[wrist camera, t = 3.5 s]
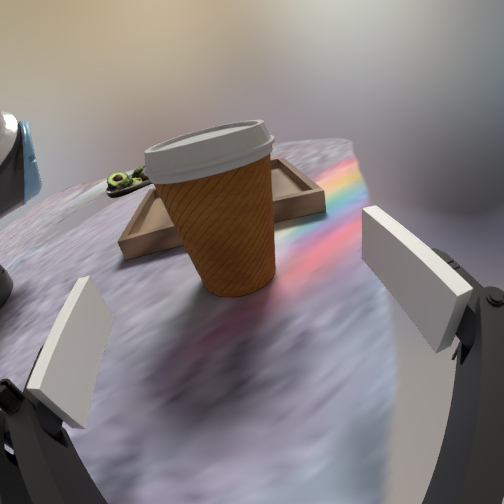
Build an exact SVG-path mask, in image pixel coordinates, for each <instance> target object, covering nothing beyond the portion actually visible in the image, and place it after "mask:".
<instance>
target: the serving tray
mask: <svg viewBox="0 0 504 504" xmlns="http://www.w3.org/2000/svg"><path fill="white" fill-rule="evenodd" d="M270 161H271V178H272V194H273V218H274V223H275V222H279V221H283V220H287V219H292V218H296V217H300V216H305V215H309V214H314V213H318V212H323V211H326V205H325V194H324V190H323V189H322V188H321V187H319V186H318V185H317V184H316V183H314V182H313V181H312V180H311V179H310V178H308V177H307V176H306V175H305V174H303V173H302V172H301V171H300V170H298V169H297V168H296V167H294V166H293V165H292V164H291V163H289V162H288V161H287V160H285V159H284V158H283V157H277V158H272V159H270ZM118 244H119V246H120V249H121V251H122V253H123V255H124V257H125V260H128V259H132V258H135V257H139V256H143V255H147V254H150V253H154V252H158V251H162V250H165V249H169V248H173V247H177V246H181V245H183V243H182V241H181V239H180V237H179V235H178V233H177V231H176V229H175V227H174V225H173V223H172V221H171V219H170V216H169V214H168V212H167V210H166V208H165V206H164V204H163V202H162V200H161V198H160V196H159V194H158V192H157V189H156V188H154V189H150V190H149V191H148V193H147V194H146V196H145V197H144V199H143V200H142V202H141V204H140V205H139V207H138V208H137V210H136V212H135V213H134V215H133V217H132V218H131V220H130V222H129V223H128V225H127V227H126V228H125V230H124V232H123V233H122V235H121V237H120V239H119V240H118Z"/></svg>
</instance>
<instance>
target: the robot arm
mask: <svg viewBox="0 0 504 504" xmlns="http://www.w3.org/2000/svg"><path fill="white" fill-rule="evenodd" d="M41 186H42V183H41V178H40V175H39V171H38V167H37V163H36V158H35V153H34V149H33V144H32V138H31V133H30V127H29V123H28V121H23V122H21V121H20V122H19V123H18V124H17V122H16V120H15V118H14V116H13V115H12V114H10V113H7V112H1V111H0V219H1V218H2V217H4V216H5V215H7V214H9V213H10V212H12V211H14V210H15V209H17V208H19V207H20V206H22V205H25V204H26V202H27V201H28V200H30V199H31V198H33V197H35V196H36V195H37V194H38V193H39V192H40V190H41ZM362 259H363V260H364V261H365V263H366V264H367V265H368V266H369V267H370V269H371V270H372V271H373V272H374V273H375V275H376V276H377V277H378V278H379V280H380V281H381V282H382V283H383V284H384V286H385V287H386V288H387V289H388V291H389V292H390V293H391V294H392V296H393V297H394V298H395V299H396V301H397V302H398V303H399V305H400V306H401V307H402V308H403V310H404V311H405V312H406V314H407V315H408V316H409V318H410V319H411V320H412V322H413V323H414V324H415V325H416V327H417V328H418V330H419V331H420V332H421V334H422V335H423V337H424V338H425V339H426V341H427V342H428V344H429V345H430V346H431V348H432V349H433V351H434V352H435V353H438V352H440V351H442V350H444V349H446V348H447V347H449V346H451V344H452V342H453V340H454V337H455V335H456V336H457V337H458V338H459V339H460V342H459V344H458V346H457V348H456V350H455V353H454V354H453V357H452V360H454V359H455V357H456V355H457V364H456V373H455V381H454V388H453V395H452V401H451V407H450V412H449V417H448V422H447V426H446V430H445V435H444V439H443V443H442V446H441V450H440V454H439V457H438V460H437V464H436V467H435V470H434V473H433V476H432V479H431V482H430V485H429V487H428V490H427V493H426V495H425V498H424V500H423V502H422V504H502V500H503V497H504V292H503V291H502V290H500V289H499V288H496V287H485V288H484V287H482V286H481V285H480V284H479V283H478V282H477V281H476V280H475V279H474V278H473V277H472V276H471V275H470V274H469V273H467V272H466V271H465V270H464V269H463V268H462V267H460V265H459V264H458V263H457V262H454V260H453V259H452V258H451V257H449V256H448V255H447V254H446V253H444V252H442V251H440V250H438V249H436V248H433V249H430V248H429V247H428V246H426V245H425V244H424V243H423V242H422V241H420V240H419V239H418V238H416V236H414V235H413V234H412V233H411V232H409V231H408V230H407V229H405V228H404V227H403V226H402V225H401V224H399V223H398V222H397V221H395V220H394V219H393V218H391V217H390V216H389V215H388V214H386V213H385V212H384V211H382V210H381V209H380V208H378V207H377V206H371V207H366V208H362ZM12 287H13V281H12V279H11V277H10V276H9V274H8V272H7V271H6V270H5V269H4V268H3V267H2V266H1V265H0V307H1V305H2V304H3V303H4V301H5V300H6V299H7V297H8V295H9V294H10V292H11V290H12ZM114 318H115V317H114V315H113V314H112V312H111V311H110V309H109V307H108V306H107V304H106V302H105V301H104V299H103V297H102V295H101V294H100V292H99V290H98V288H97V287H96V285H95V283H94V281H93V279H92V278H91V276H86V277H82V278H79V279H78V280H77V282H76V284H75V286H74V287H73V289H72V291H71V293H70V295H69V296H68V298H67V300H66V302H65V304H64V306H63V308H62V309H61V311H60V313H59V315H58V317H57V319H56V321H55V323H54V325H53V327H52V329H51V331H50V333H49V336H48V338H47V340H46V342H45V344H44V345H43V346H42V347H41V349H40V351H39V353H38V355H37V360H35V362H34V365H33V366H34V367H32V370H31V372H30V375H29V377H28V380H27V382H26V385H25V388H24V390H23V393H22V392H21V391H20V390H19V389H18V388H17V387H16V386H15V385H14V384H13V383H12V382H11V381H10V380H9V379H2V380H1V381H0V408H1V410H0V504H108V503H107V502H106V501H105V499H104V498H103V496H102V495H101V493H100V491H99V490H98V488H97V487H96V485H95V484H94V482H93V480H92V479H91V477H90V475H89V474H88V472H87V470H86V468H85V467H84V465H83V463H82V461H81V459H80V457H79V455H78V454H77V452H76V450H75V448H74V446H73V444H72V442H71V440H70V437H69V435H68V433H67V431H66V430H65V429H64V428H63V427H62V422H63V421H64V422H65V423H66V424H68V425H69V426H70V427H72V428H79V429H86V426H87V421H88V416H89V411H90V406H91V401H92V397H93V393H94V388H95V384H96V380H97V376H98V372H99V368H100V365H101V361H102V357H103V354H104V350H105V347H106V343H107V340H108V337H109V334H110V330H111V327H112V324H113V321H114ZM4 444H6V445H7V446H9V447H10V448H11V449H13V450H14V454H13V455H12V454H11V453H9V452H8V451H6V450H5V447H4Z"/></svg>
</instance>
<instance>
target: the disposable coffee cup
mask: <svg viewBox="0 0 504 504" xmlns="http://www.w3.org/2000/svg"><path fill="white" fill-rule="evenodd" d="M273 142H274V136H272V135H270V134H269V132H268V130H267V128H266V126H265V123H264V121H262V120H251V121H242V122H236V123H230V124H224V125H220V126H215V127H210V128H207V129H202V130H199V131H195V132H192V133H188V134H185V135H182V136H179V137H176V138H173V139H170V140H167V141H165V142H162V143H160V144H157V145H155V146H153V147H151V148H149V149H148V150H146V151H145V152H144V153H145V165H146V167H145V168H144V170H143V173H144V175H145V176H148V178H149V180H150V182H151V183H154V185H155V187H156V189H157V192H158V194H159V196H160V198H161V200H162V202H163V204H164V206H165V208H166V210H167V212H168V214H169V216H170V219H171V221H172V223H173V225H174V227H175V229H176V231H177V233H178V235H179V237H180V239H181V241H182V243H183V245H184V247H185V249H186V250H187V252H188V254H189V256H190V258H191V260H192V262H193V264H194V266H195V268H196V270H197V272H198V273H199V275H200V277H201V279H202V281H203V283H204V285H205V287H206V289H207V290H208V291H209V292H211V293H213V294H215V295H218V296H224V297H236V296H242V295H246V294H249V293H252V292H254V291H257V290H258V289H260V288H262V287H263V286H265V285H266V284H267V283H268V282H269V281H270V280H271V279H272V277H273V275H274V273H275V268H276V267H275V244H274V218H273V194H272V178H271V161H270V153H271V152H272V150H273V148H272V144H273Z"/></svg>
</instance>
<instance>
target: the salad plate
mask: <svg viewBox="0 0 504 504" xmlns="http://www.w3.org/2000/svg"><path fill="white" fill-rule="evenodd" d="M145 167H146V166H143V167H139V168H137V169H136V170H135V171H134V173H133V174H132V175H129V176H128V175H127V174H125V173H122V172H116V173H113V174H111V175H110V176H109V177H108V179H107V183H108V187H107V189H106V190H107V195H108V196H109V197H111V198H118V197H121V196H124V195H127V194H130V193H132V192H133V191H135V190H137V189H139V188H141V187H143V186H145V185H148V184H150V183H151V182H150V180H149V178H148V176H145V175H144V173H143V170H144V168H145Z"/></svg>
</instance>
